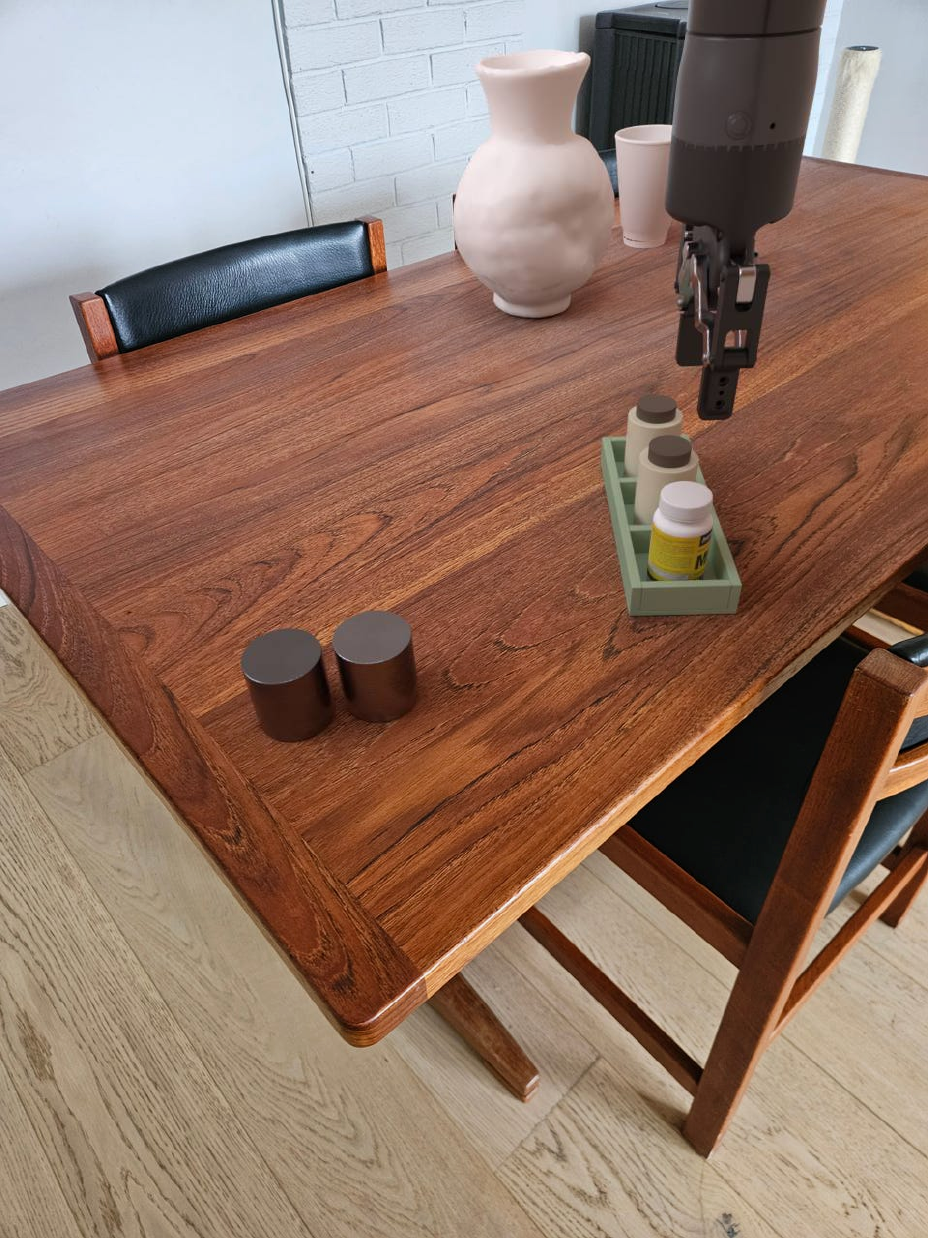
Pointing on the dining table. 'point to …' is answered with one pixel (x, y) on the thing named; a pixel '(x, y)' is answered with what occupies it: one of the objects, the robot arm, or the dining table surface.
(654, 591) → the rack
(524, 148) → the vase
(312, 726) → the grey tin
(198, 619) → the dining table surface
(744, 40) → the robot arm
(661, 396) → the cream bottle
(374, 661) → the grey tin
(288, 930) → the dining table surface
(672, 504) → the supplement bottle
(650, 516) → the cream bottle
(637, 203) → the cup
